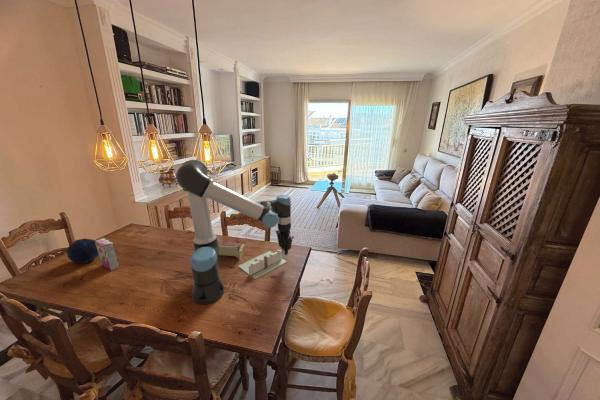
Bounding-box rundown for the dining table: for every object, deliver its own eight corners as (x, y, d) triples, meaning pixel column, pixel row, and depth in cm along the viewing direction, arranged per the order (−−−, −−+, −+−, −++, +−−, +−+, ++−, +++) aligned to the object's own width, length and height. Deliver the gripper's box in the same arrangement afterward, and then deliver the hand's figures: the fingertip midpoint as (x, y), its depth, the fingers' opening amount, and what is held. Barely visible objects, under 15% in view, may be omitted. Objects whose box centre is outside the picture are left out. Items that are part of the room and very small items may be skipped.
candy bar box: (101, 265, 140) (94, 240, 134) (111, 261, 144) (104, 237, 138) (110, 271, 134) (103, 246, 129) (120, 267, 138) (113, 242, 133)
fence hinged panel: (268, 266, 140) (268, 256, 138) (266, 265, 141) (266, 255, 139) (282, 258, 148) (282, 249, 146) (280, 257, 149) (280, 248, 147)
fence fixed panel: (250, 276, 132) (249, 265, 129) (248, 274, 133) (248, 263, 131) (267, 267, 140) (267, 256, 138) (266, 265, 141) (265, 255, 139)
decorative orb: (93, 259, 136) (94, 234, 140) (59, 264, 131) (61, 238, 135) (104, 261, 149) (104, 238, 153) (74, 266, 143) (75, 242, 148)
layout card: (254, 279, 130) (254, 278, 130) (238, 266, 141) (238, 265, 141) (287, 261, 146) (286, 261, 146) (269, 251, 157) (269, 250, 157)
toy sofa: (245, 253, 155) (244, 239, 152) (241, 260, 147) (239, 246, 144) (214, 251, 157) (212, 237, 153) (208, 258, 149) (206, 244, 145)
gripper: (297, 223, 131) (297, 260, 139) (281, 217, 139) (282, 251, 147) (287, 228, 126) (287, 265, 133) (271, 220, 134) (273, 256, 142)
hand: (285, 258), depth 140 cm, fingers closed
